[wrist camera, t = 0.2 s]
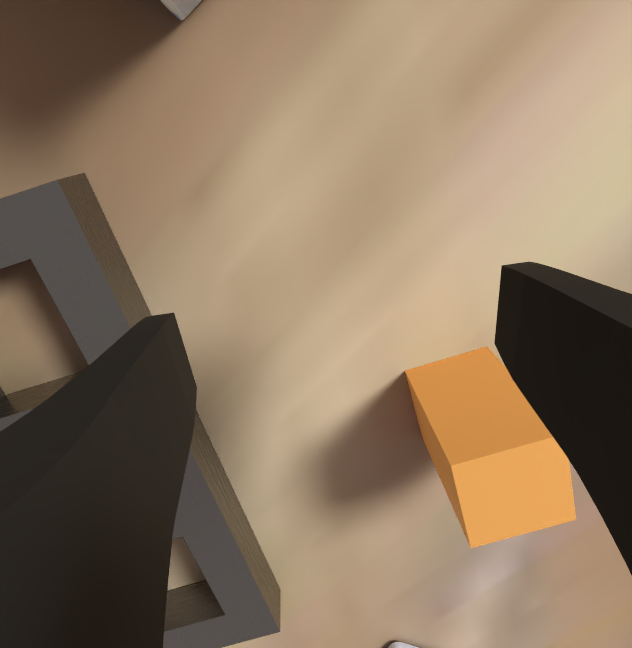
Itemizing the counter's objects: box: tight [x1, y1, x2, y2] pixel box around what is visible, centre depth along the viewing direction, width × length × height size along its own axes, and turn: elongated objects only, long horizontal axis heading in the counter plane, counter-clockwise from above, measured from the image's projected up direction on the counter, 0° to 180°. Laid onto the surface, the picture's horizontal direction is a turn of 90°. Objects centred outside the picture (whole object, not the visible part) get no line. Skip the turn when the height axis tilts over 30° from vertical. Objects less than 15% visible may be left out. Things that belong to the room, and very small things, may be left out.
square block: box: [405, 347, 576, 548], centre depth 21 cm, size 4×4×7 cm
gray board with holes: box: [0, 173, 280, 648], centre depth 23 cm, size 24×10×2 cm, turn 17°
